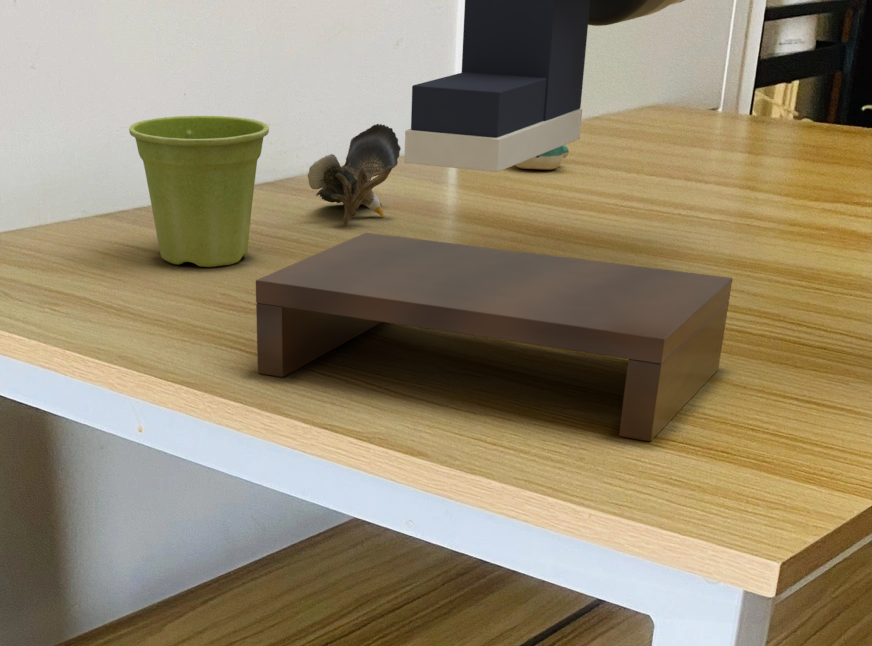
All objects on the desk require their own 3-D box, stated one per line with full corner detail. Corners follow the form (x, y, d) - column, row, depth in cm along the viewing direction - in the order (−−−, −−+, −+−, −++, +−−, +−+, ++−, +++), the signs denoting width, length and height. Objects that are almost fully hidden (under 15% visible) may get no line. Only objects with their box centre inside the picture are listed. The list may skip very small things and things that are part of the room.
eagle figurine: (419, 212, 105) (421, 168, 112) (369, 131, 101) (374, 91, 108) (336, 263, 108) (343, 217, 115) (285, 186, 104) (295, 143, 111)
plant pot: (295, 263, 96) (294, 130, 91) (173, 280, 92) (166, 141, 87) (232, 237, 103) (228, 111, 98) (116, 252, 98) (106, 121, 94)
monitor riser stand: (718, 369, 76) (732, 277, 73) (650, 442, 66) (664, 338, 63) (363, 316, 85) (365, 232, 82) (257, 373, 75) (255, 280, 72)
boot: (494, 131, 76) (507, -90, 70) (579, 139, 74) (600, -88, 68) (404, 162, 68) (410, -84, 62) (497, 172, 65) (512, -82, 60)
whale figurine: (503, 171, 126) (506, 127, 124) (506, 157, 133) (509, 115, 131) (567, 174, 126) (571, 129, 124) (567, 160, 132) (571, 117, 130)
